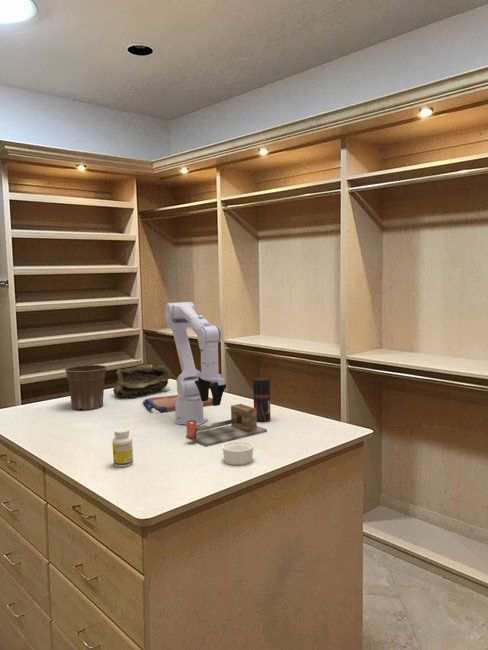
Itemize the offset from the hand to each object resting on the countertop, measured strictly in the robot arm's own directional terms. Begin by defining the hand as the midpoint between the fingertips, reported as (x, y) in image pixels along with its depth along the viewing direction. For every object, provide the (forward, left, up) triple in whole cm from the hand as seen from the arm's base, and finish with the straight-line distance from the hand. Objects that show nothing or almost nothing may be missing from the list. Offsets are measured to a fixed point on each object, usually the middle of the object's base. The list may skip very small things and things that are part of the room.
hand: (210, 403), depth 178 cm
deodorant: (+10, +20, -10) cm, 25 cm away
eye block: (+6, 0, -10) cm, 12 cm away
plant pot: (-64, +15, -10) cm, 66 cm away
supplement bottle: (-10, -35, -10) cm, 38 cm away
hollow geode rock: (-56, +43, -10) cm, 71 cm away
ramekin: (+19, -21, -10) cm, 30 cm away
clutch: (-31, +31, -11) cm, 45 cm away
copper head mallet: (+3, -5, -9) cm, 10 cm away
